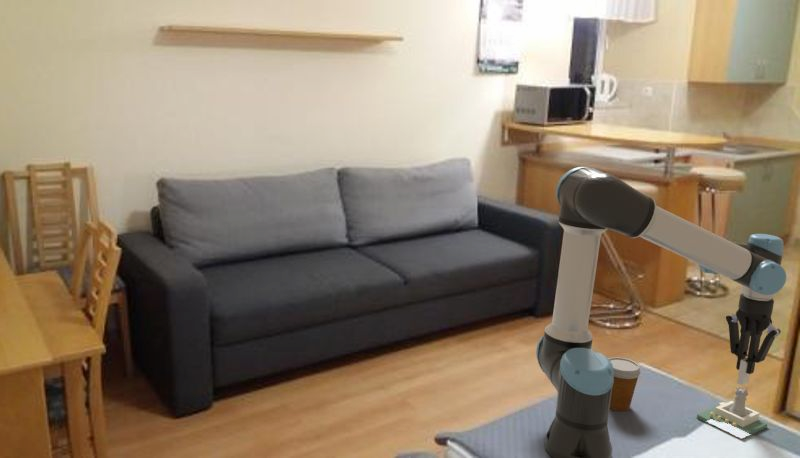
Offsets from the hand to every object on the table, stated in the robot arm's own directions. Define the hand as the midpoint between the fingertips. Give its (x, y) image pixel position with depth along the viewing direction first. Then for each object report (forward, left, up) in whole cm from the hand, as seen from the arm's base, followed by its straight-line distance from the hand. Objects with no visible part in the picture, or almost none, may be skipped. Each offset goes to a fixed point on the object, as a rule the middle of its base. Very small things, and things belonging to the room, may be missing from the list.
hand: (742, 383), depth 167 cm
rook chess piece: (0, 0, -10) cm, 10 cm away
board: (-2, 0, -11) cm, 11 cm away
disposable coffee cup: (-21, +21, -11) cm, 32 cm away
